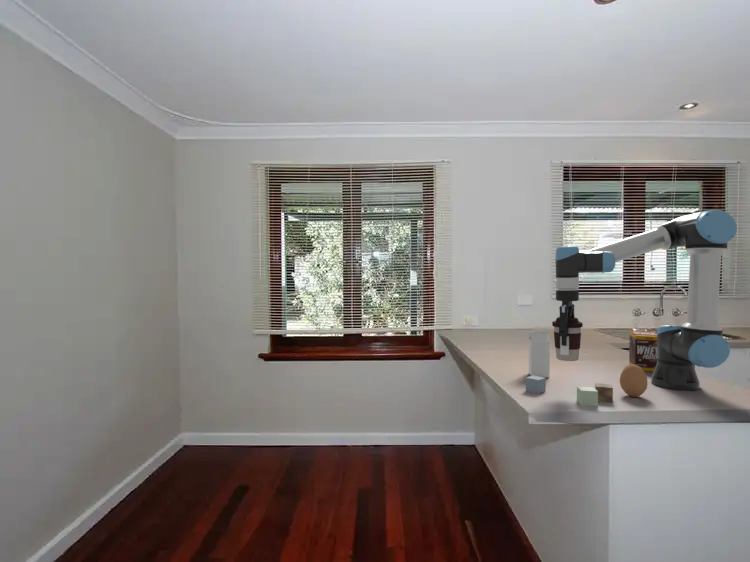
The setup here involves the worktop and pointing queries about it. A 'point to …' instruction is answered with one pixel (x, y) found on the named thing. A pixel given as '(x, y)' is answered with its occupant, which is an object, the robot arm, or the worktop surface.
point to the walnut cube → (604, 392)
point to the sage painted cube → (587, 396)
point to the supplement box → (643, 350)
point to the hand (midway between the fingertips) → (567, 352)
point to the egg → (633, 380)
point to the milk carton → (539, 353)
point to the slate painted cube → (535, 384)
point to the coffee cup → (573, 339)
